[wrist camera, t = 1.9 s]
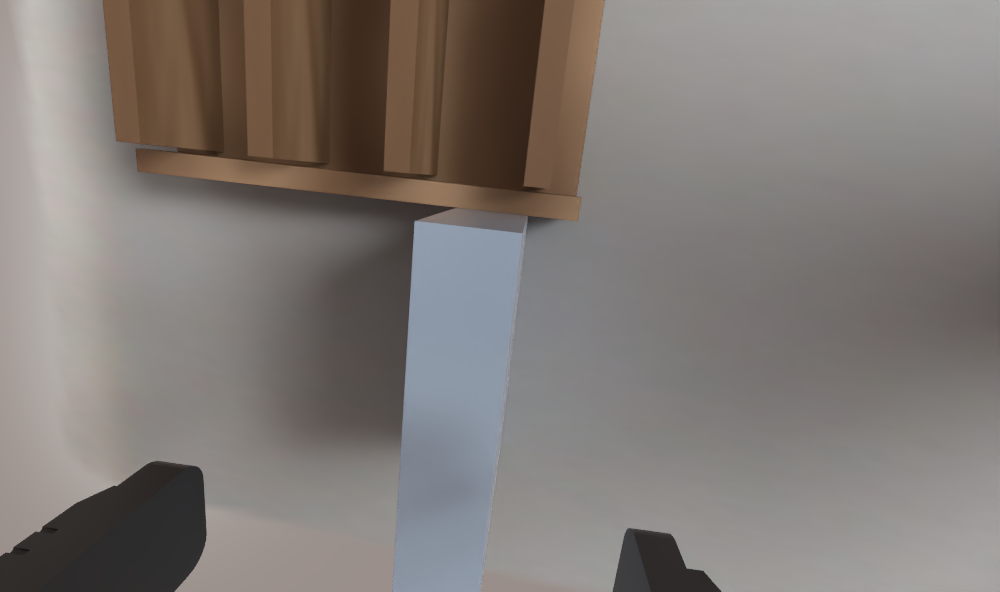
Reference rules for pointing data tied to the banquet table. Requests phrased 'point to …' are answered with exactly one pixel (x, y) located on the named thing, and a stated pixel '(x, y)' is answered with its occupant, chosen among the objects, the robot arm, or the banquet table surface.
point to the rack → (362, 96)
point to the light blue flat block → (455, 394)
